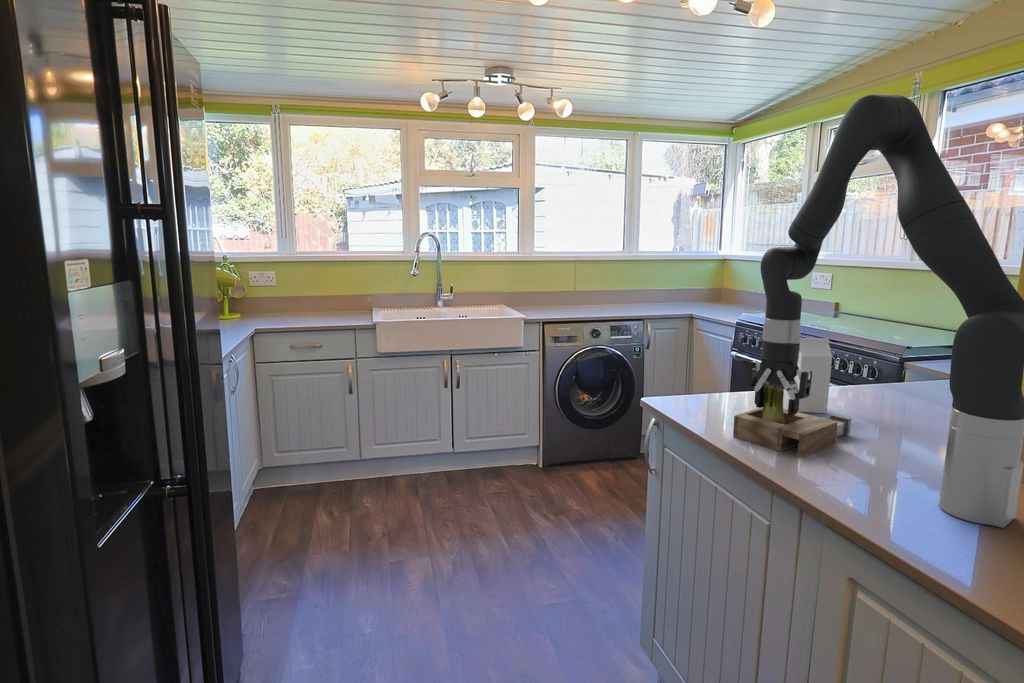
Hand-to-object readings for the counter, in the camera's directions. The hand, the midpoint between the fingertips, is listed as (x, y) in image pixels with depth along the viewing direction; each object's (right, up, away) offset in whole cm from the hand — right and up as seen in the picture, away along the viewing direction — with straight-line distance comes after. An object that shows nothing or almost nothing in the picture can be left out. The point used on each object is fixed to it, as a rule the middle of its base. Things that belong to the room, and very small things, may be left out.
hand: (775, 410), depth 129 cm
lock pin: (+11, -6, 0) cm, 13 cm away
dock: (+1, -6, -1) cm, 7 cm away
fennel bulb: (0, -6, +1) cm, 7 cm away
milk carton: (+19, -2, +23) cm, 30 cm away
